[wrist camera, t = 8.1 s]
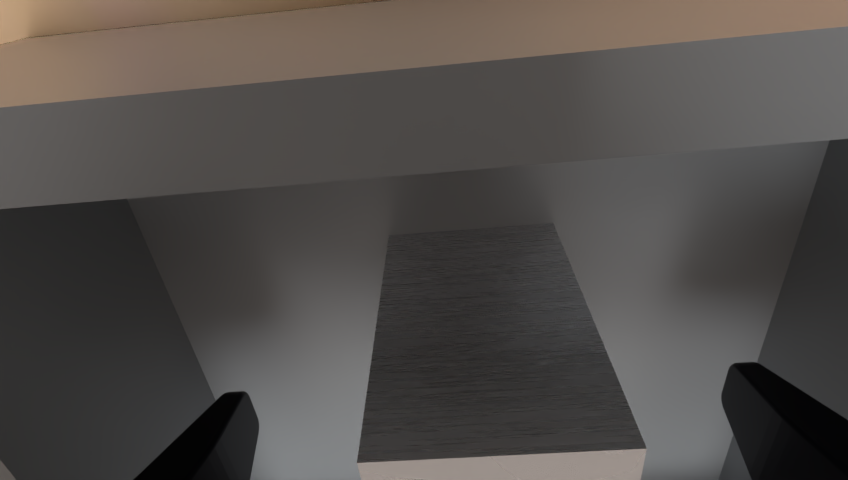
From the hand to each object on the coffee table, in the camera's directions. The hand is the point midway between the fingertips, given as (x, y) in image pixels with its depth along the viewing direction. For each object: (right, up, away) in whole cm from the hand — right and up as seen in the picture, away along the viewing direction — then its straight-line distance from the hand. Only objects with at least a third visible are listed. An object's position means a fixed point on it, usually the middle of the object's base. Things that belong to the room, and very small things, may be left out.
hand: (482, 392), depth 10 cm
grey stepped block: (0, 0, +3) cm, 3 cm away
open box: (0, +1, +3) cm, 3 cm away
